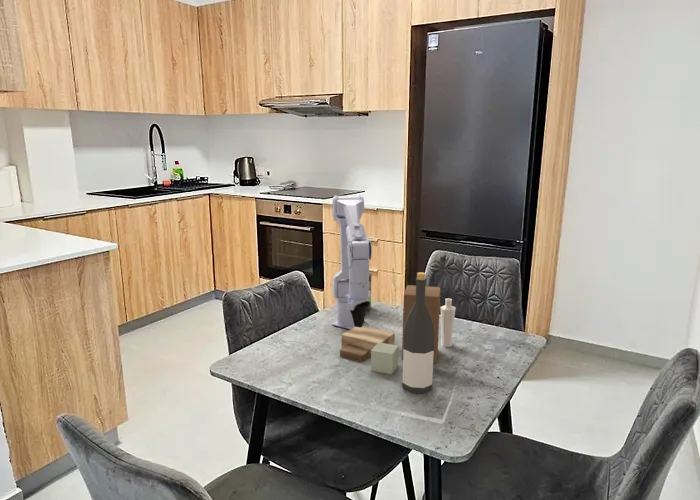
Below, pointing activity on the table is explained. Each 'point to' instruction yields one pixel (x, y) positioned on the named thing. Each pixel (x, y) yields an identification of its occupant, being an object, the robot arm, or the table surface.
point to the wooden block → (432, 305)
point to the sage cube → (384, 358)
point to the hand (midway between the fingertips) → (358, 326)
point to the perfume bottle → (447, 323)
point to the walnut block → (355, 352)
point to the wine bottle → (418, 344)
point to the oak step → (367, 337)
